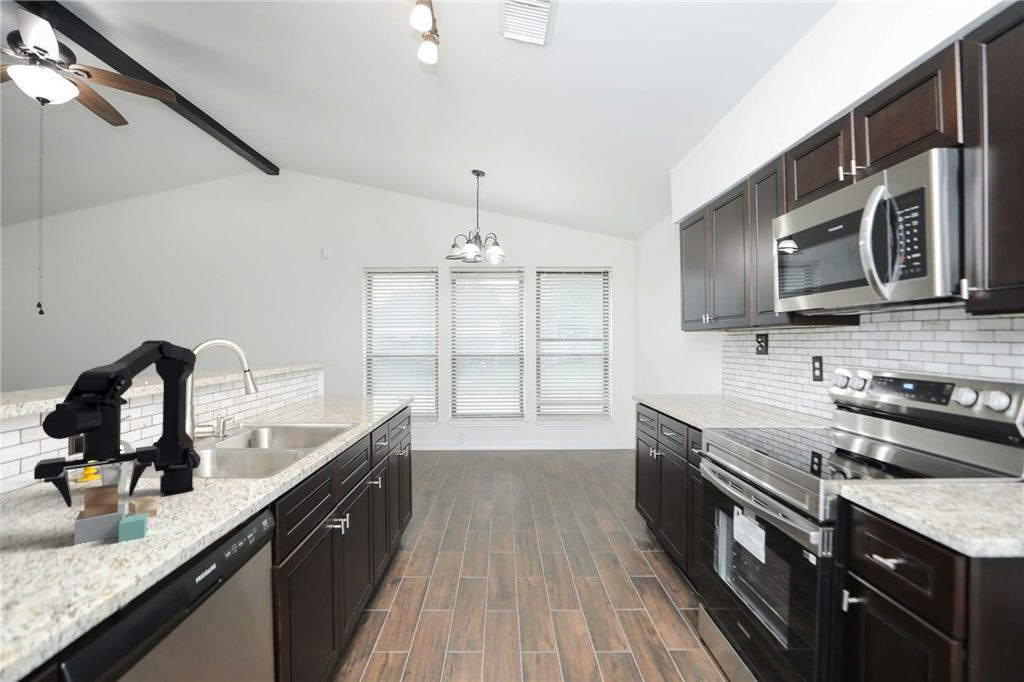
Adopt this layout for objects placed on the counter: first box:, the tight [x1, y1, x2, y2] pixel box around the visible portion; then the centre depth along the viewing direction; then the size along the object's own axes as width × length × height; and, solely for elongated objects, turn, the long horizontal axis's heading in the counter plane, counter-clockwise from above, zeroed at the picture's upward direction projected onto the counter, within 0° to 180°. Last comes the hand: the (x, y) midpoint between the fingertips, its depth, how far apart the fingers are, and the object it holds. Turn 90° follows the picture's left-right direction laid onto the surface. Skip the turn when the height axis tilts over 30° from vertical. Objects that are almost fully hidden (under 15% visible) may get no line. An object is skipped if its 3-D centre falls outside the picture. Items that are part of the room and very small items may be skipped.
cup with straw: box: [98, 414, 136, 491], centre depth 115 cm, size 8×9×20 cm
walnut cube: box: [83, 483, 119, 519], centre depth 88 cm, size 5×5×5 cm
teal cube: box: [118, 513, 149, 543], centre depth 88 cm, size 4×4×4 cm
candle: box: [76, 461, 101, 481], centre depth 123 cm, size 5×5×16 cm
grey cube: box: [73, 502, 126, 546], centre depth 88 cm, size 7×7×5 cm
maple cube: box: [127, 495, 158, 519], centre depth 97 cm, size 4×4×4 cm
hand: (101, 500), depth 88 cm, fingers open, 9 cm apart
